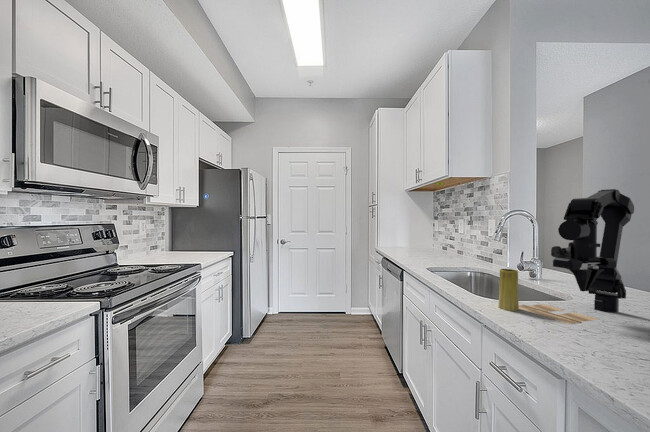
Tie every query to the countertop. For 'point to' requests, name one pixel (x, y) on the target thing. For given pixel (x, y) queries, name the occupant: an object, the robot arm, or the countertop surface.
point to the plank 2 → (578, 317)
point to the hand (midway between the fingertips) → (584, 291)
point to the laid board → (549, 315)
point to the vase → (508, 290)
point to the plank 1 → (546, 307)
